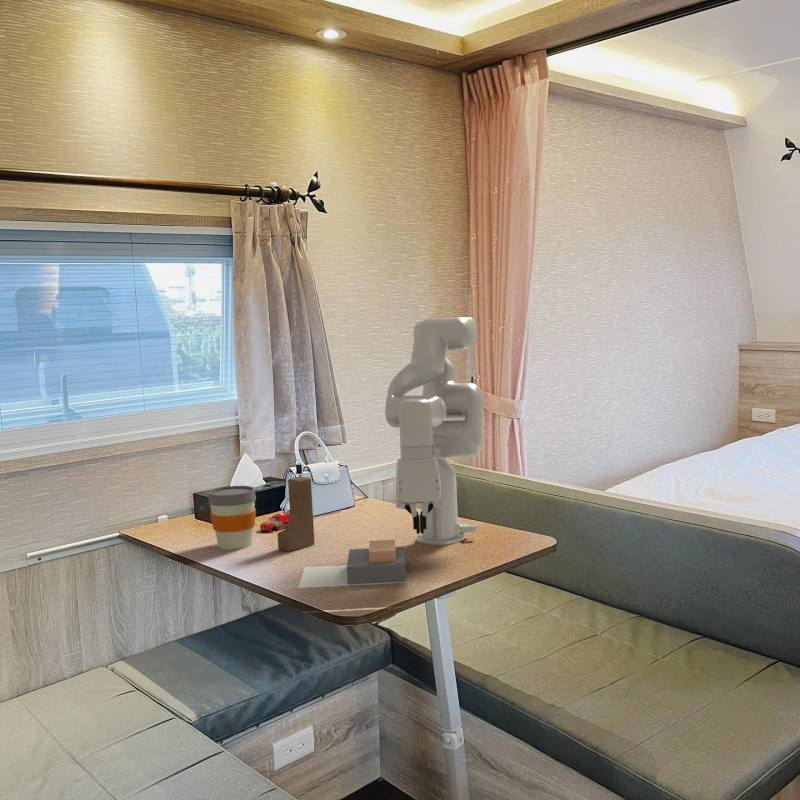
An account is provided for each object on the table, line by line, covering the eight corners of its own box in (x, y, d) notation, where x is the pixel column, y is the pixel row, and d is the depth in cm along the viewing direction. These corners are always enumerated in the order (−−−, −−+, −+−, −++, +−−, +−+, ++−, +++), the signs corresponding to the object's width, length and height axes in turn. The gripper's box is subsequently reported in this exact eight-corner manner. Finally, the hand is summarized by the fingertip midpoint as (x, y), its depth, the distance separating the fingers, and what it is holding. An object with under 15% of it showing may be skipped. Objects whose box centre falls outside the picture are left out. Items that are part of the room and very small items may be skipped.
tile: (395, 549, 194) (395, 539, 194) (396, 561, 185) (395, 550, 185) (370, 551, 194) (369, 540, 193) (369, 562, 185) (368, 551, 184)
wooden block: (288, 552, 211) (284, 483, 210) (277, 549, 215) (273, 482, 213) (315, 544, 218) (311, 477, 216) (304, 541, 221) (300, 476, 219)
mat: (404, 563, 197) (404, 562, 197) (406, 584, 182) (406, 582, 182) (304, 568, 197) (304, 567, 197) (298, 589, 182) (298, 587, 182)
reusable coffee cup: (261, 548, 217) (258, 492, 215) (213, 554, 213) (209, 497, 212) (256, 536, 229) (252, 483, 227) (210, 542, 225) (206, 488, 224)
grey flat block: (404, 562, 197) (403, 546, 196) (406, 581, 183) (405, 564, 182) (350, 565, 197) (349, 549, 196) (347, 584, 183) (346, 567, 182)
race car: (268, 534, 231) (267, 521, 231) (256, 532, 235) (255, 518, 234) (303, 524, 241) (302, 511, 241) (291, 521, 245) (290, 508, 244)
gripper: (448, 449, 191) (451, 527, 192) (384, 452, 190) (387, 530, 192) (451, 454, 183) (454, 534, 184) (384, 456, 183) (387, 537, 184)
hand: (420, 532), depth 188 cm, fingers closed
